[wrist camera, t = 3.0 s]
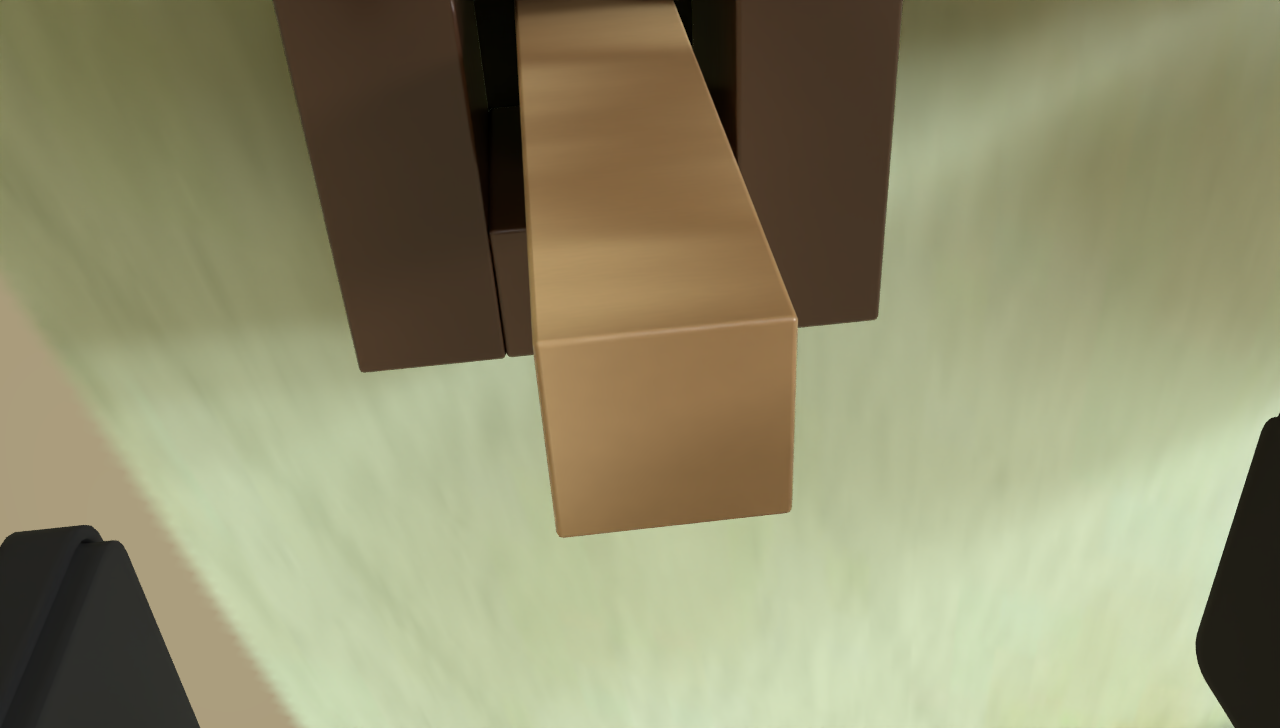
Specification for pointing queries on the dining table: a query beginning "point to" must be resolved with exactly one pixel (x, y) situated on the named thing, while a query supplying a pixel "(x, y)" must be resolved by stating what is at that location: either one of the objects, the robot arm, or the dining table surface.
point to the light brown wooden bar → (646, 280)
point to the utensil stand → (493, 164)
